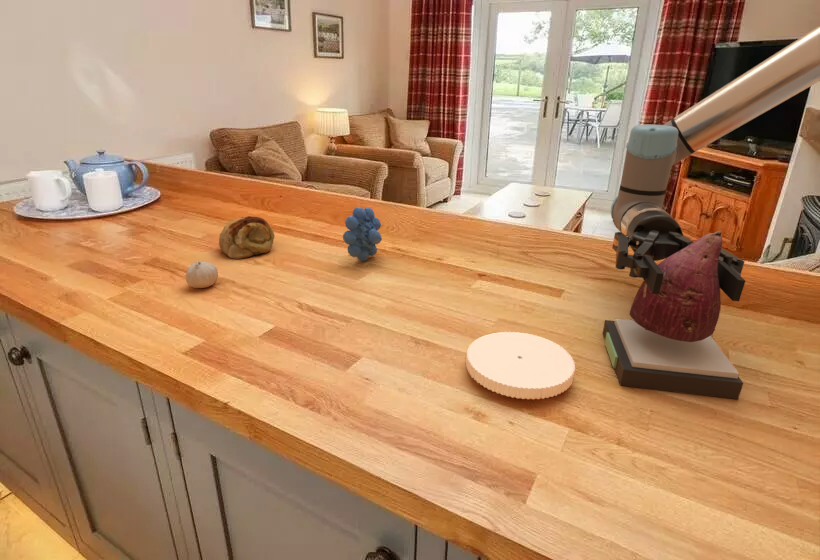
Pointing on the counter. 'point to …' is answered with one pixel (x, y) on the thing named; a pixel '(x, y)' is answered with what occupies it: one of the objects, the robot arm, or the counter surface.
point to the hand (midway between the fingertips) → (697, 287)
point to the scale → (669, 362)
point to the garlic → (201, 274)
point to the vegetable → (684, 293)
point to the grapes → (362, 233)
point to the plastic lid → (520, 365)
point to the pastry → (246, 237)
